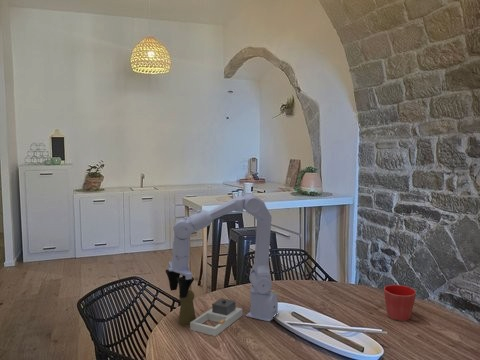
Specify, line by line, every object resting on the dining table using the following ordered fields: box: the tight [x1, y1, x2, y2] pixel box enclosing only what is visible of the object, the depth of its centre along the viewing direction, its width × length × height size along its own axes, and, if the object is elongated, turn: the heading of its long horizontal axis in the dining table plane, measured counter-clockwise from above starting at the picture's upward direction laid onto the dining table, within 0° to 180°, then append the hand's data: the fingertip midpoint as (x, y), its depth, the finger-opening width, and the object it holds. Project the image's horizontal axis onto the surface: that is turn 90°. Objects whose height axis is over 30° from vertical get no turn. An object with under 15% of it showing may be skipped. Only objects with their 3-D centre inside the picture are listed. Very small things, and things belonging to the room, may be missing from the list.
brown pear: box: [178, 289, 197, 327], centre depth 143 cm, size 6×6×11 cm
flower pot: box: [383, 284, 417, 322], centre depth 146 cm, size 11×11×10 cm
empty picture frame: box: [189, 297, 243, 337], centre depth 143 cm, size 10×18×6 cm, turn 151°
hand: (178, 293), depth 142 cm, fingers open, 7 cm apart
